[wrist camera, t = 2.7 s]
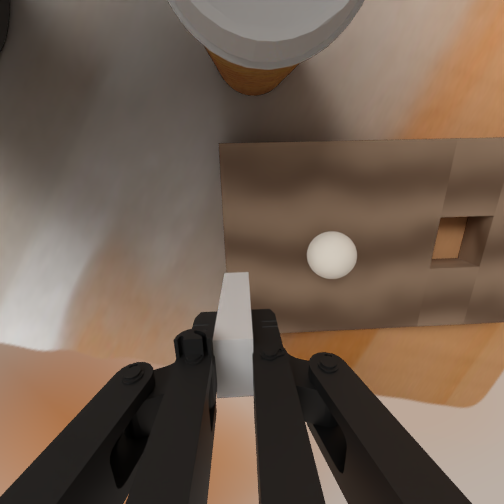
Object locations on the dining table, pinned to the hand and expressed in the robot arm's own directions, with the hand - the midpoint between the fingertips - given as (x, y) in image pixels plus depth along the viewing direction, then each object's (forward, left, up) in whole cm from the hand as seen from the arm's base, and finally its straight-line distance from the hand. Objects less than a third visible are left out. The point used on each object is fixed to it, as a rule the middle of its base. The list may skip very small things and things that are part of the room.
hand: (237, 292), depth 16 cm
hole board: (0, +14, -10) cm, 17 cm away
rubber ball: (0, +8, -5) cm, 9 cm away
